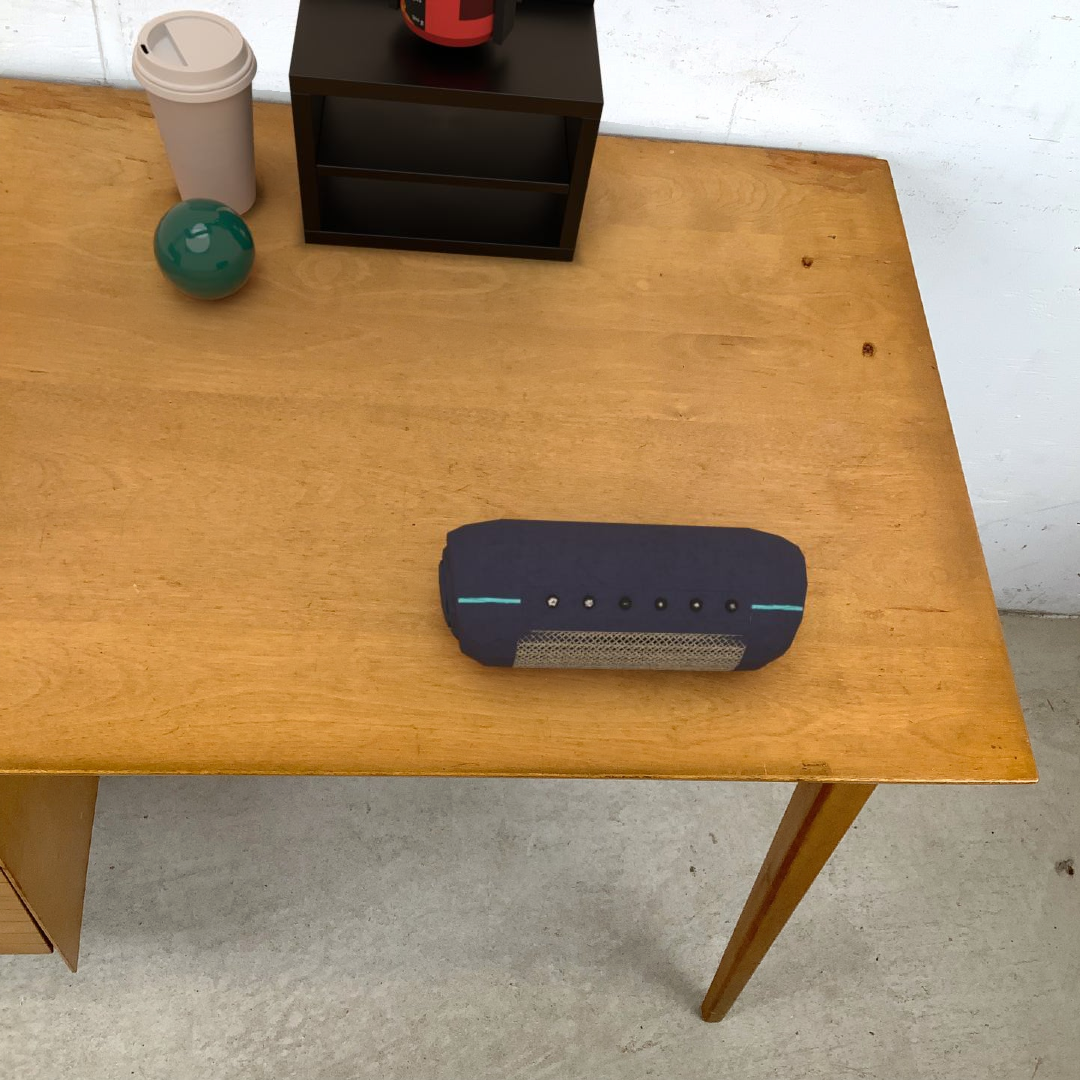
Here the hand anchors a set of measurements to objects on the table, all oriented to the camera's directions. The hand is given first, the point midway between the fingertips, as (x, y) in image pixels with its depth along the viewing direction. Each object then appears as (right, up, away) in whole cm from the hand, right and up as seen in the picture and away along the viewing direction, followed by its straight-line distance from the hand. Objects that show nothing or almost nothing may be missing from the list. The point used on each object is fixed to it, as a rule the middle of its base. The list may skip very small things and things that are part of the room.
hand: (451, 17), depth 80 cm
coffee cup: (-22, -10, +12) cm, 27 cm away
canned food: (0, 0, 0) cm, 0 cm away
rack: (-2, -9, +15) cm, 18 cm away
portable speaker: (+12, -48, -6) cm, 49 cm away
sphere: (-21, -20, +6) cm, 29 cm away
